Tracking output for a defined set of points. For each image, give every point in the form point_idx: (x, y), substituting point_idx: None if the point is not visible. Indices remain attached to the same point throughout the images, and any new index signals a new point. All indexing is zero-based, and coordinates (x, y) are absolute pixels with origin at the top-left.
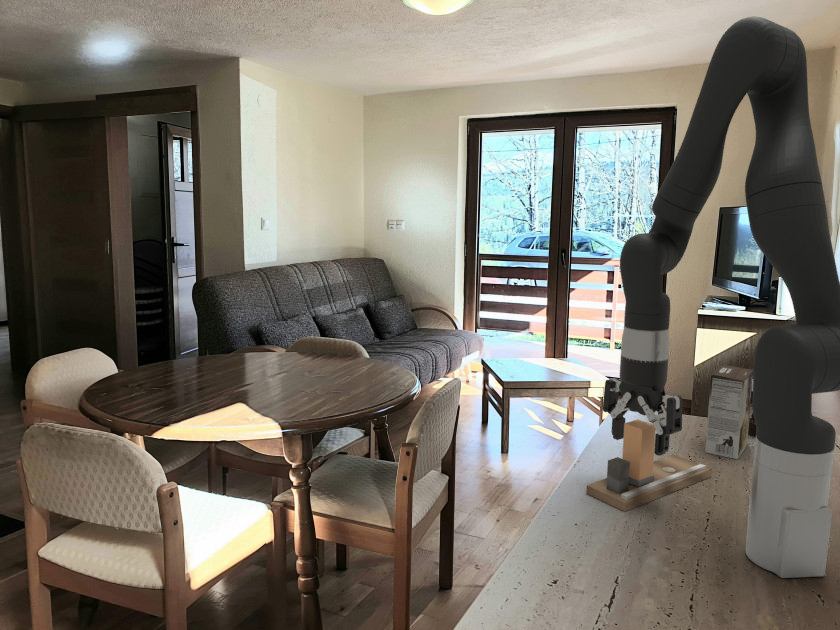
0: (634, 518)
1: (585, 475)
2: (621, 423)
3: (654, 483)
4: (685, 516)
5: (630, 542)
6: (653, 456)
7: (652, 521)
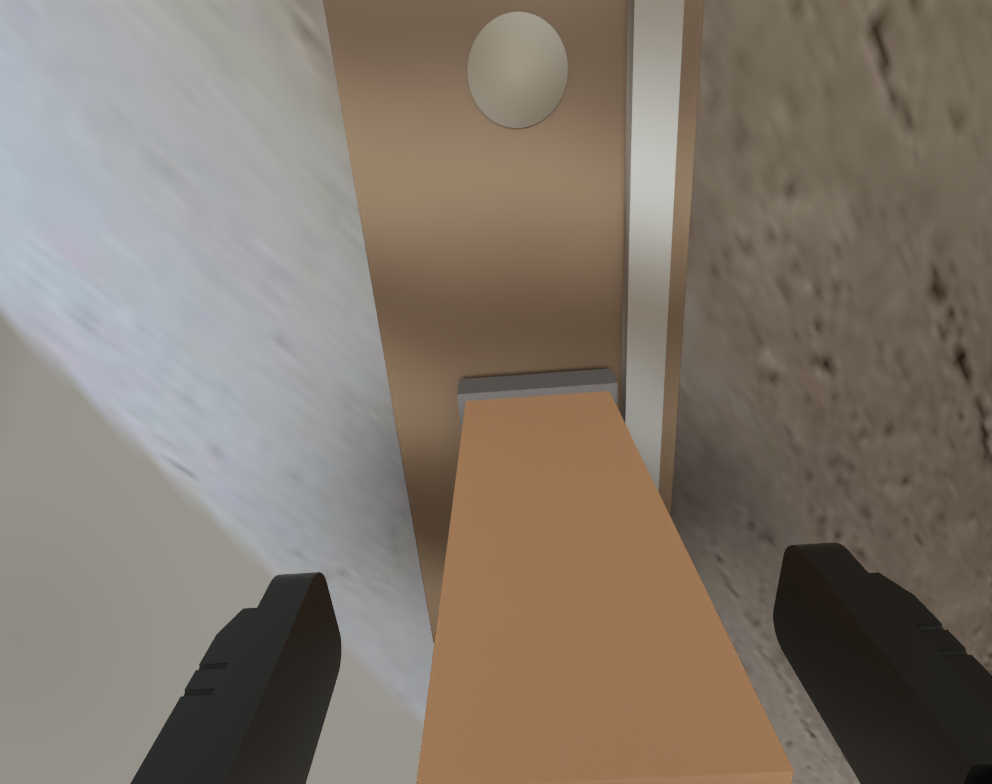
0: (712, 602)
1: (263, 491)
2: (269, 774)
3: (644, 406)
4: (863, 424)
5: (804, 713)
6: (644, 466)
7: (777, 567)
